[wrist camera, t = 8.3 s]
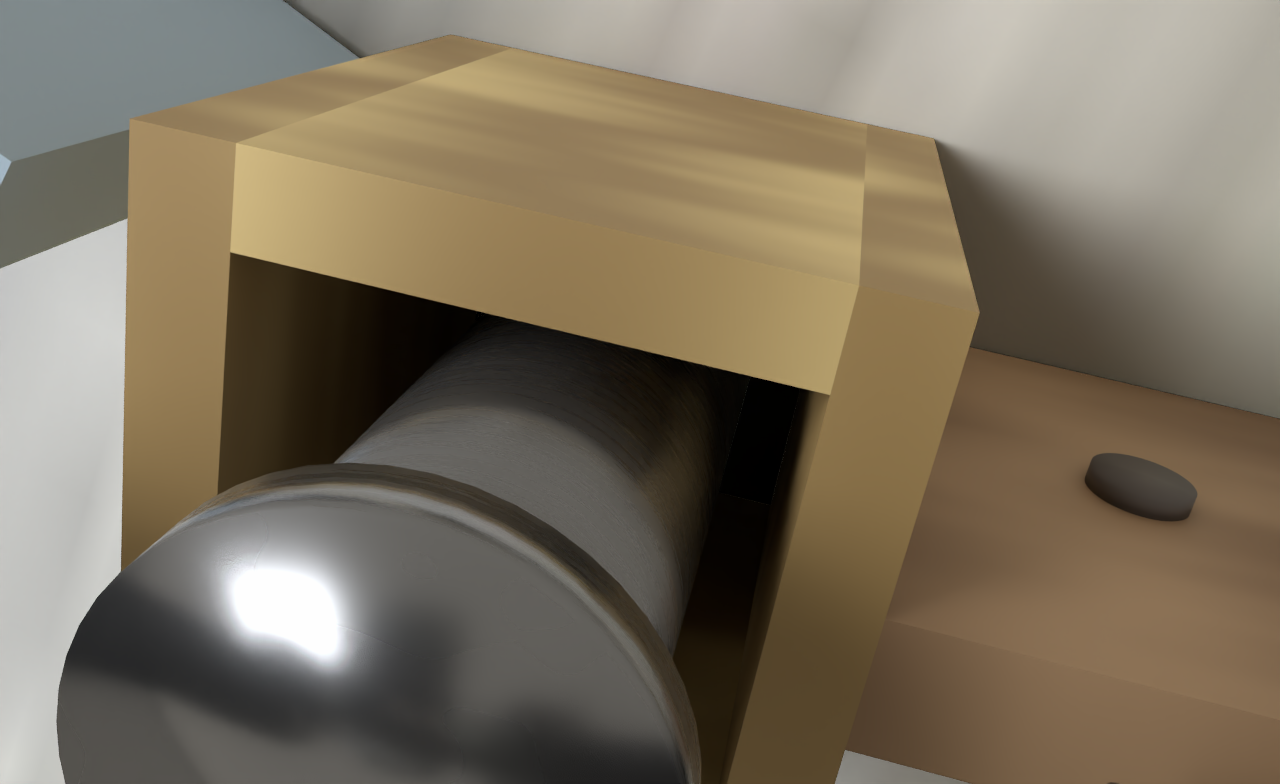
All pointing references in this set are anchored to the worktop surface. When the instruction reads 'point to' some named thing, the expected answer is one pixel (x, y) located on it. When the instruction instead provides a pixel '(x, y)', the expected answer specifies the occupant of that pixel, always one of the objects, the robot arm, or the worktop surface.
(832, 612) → the knuckle leaf
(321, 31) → the swing leaf
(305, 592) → the hinge pin
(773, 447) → the worktop surface
